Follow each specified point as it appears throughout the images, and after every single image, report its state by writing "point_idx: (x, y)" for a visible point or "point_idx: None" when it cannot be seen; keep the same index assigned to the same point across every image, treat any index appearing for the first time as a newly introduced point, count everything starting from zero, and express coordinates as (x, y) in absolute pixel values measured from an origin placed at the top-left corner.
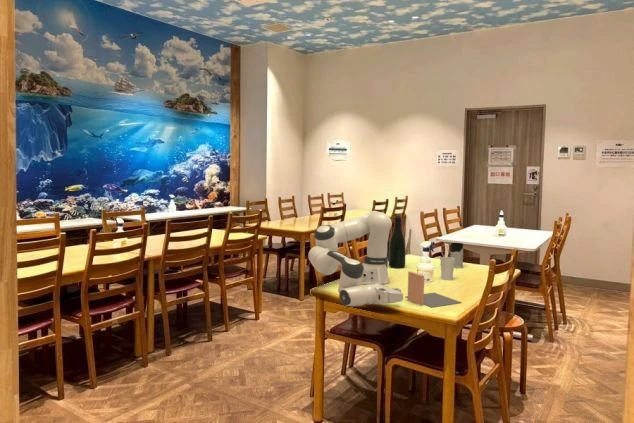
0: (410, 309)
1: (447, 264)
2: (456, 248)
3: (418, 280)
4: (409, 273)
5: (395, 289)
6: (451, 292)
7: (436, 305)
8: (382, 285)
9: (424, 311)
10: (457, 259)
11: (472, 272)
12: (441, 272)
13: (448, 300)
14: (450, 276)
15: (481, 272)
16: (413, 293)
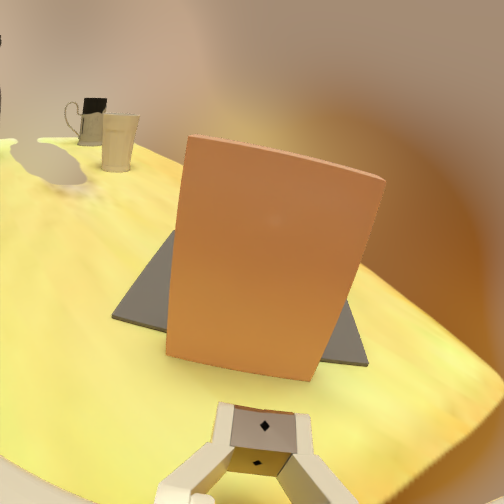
0: (370, 483)
1: (126, 128)
2: (97, 106)
3: (334, 219)
4: (204, 153)
5: (242, 452)
6: None
7: (348, 333)
8: (10, 502)
9: (424, 431)
10: (97, 128)
11: (133, 150)
12: (105, 152)
13: None
14: (128, 161)
15: (146, 149)
16: (241, 319)
